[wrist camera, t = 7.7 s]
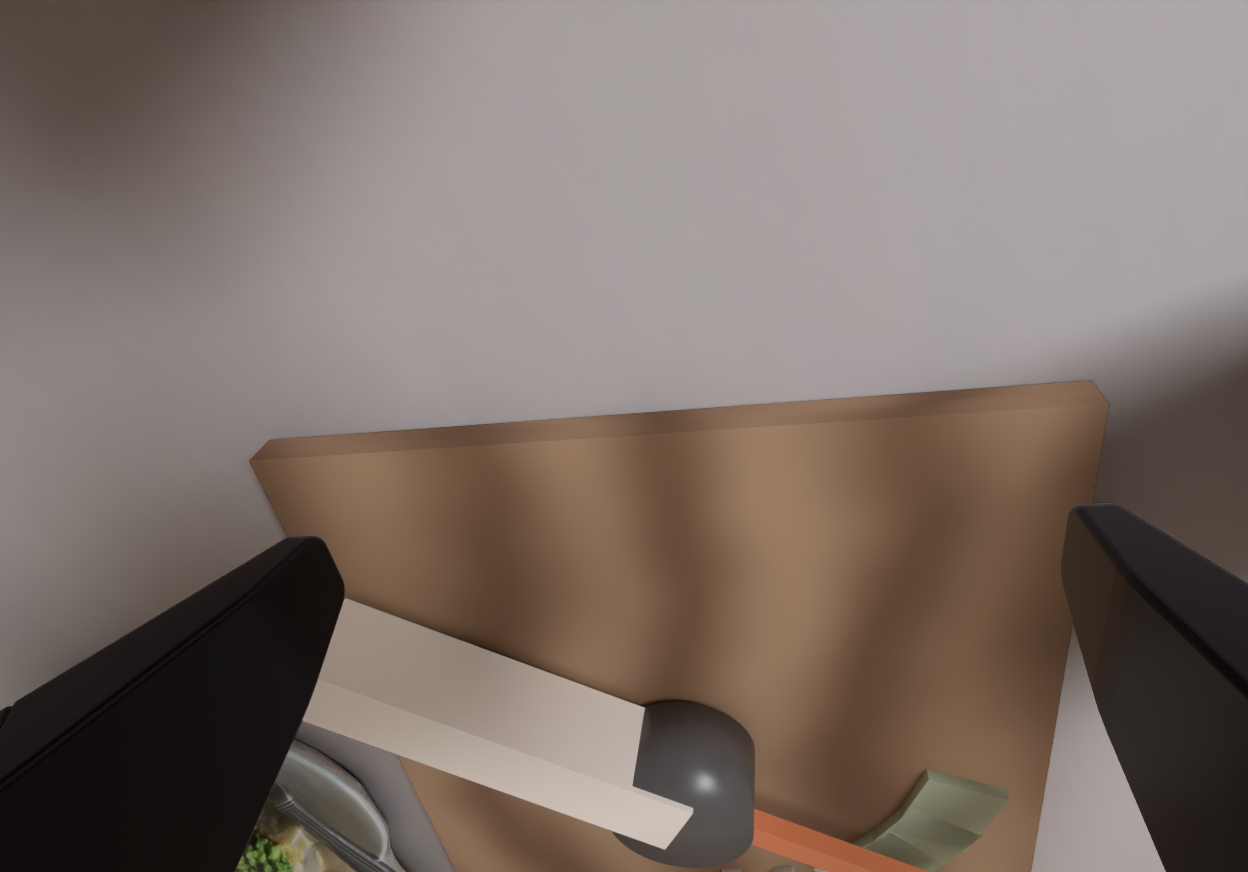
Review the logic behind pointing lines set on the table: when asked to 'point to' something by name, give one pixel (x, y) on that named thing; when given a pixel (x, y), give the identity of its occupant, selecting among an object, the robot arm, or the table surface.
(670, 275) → the table surface
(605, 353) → the table surface
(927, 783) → the cutting board
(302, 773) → the salad plate
